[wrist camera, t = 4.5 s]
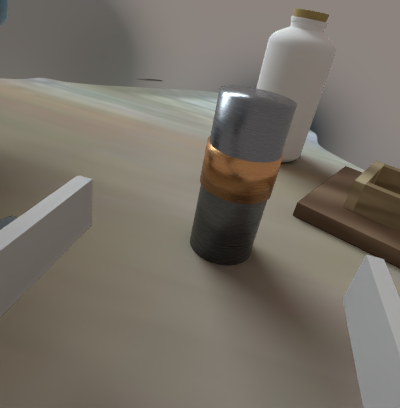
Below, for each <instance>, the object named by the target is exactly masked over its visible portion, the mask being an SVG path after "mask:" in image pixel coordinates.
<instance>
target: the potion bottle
mask: <svg viewBox="0 0 400 408" xmlns="http://www.w3.org/2000/svg"><path fill="white" fill-rule="evenodd" d="M328 17H329V15H328V14H325V13H320V12H315V11H310V10H304V9H298V8H295V12H294V16H292V17H291V26H290V27H287V28H284V29H281V30H278V31H276V32H274V33H273V34H272V35H271V36H270V38H269V40H268V44H267V48H266V52H265V56H264V60H263V65H262V68H261V73H260V77H259V81H258V85H257V89H261V90H265V91H269V92H273V93H276V94H279V95H282V96H285V97H287V98H289V99H291V100H293V101H294V102H296V104H297V107H296V110H295V113H294V116H293V120H292V123H291V126H290V129H289V132H288V135H287V139H286V142H285V145H284V148H283V151H282V154H283V159H282V162H290V161H293V160H295V159H297V158H299V157H300V155H301V152H302V149H303V146H304V143H305V140H306V137H307V134H308V132H309V129H310V126H311V123H312V120H313V117H314V114H315V111H316V108H317V106H318V103H319V100H320V97H321V94H322V91H323V88H324V85H325V82H326V79H327V77H328V74H329V71H330V68H331V65H332V62H333V59H334V56H335V52H336V49H335V46H334V44H333V43H332V41H331V40H330V39H329V38H328V37H327V36H326V35H325V34H323V32H324V29H325V28H326V26H327V23H326V21H327V19H328Z"/></svg>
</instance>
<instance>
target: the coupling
mask: <svg viewBox="0 0 400 408" xmlns="http://www.w3.org/2000/svg"><path fill="white" fill-rule="evenodd" d="M296 107H297V104H296V102H294V101H293V100H291V99H289V98H287V97H285V96H282V95H279V94H276V93H273V92H269V91H265V90H261V89H257V88H251V87H245V86H234V85H228V86H222V87H221V88H220V91H219V96H218V101H217V106H216V111H215V116H214V121H213V126H212V131H211V136H210V137H209V138H208V140H207V145H206V150H205V156H204V161H203V166H202V171H201V176H200V183H201V187H200V192H199V197H198V202H197V207H196V212H195V217H194V222H193V227H192V232H191V237H190V244H191V247H192V248H193V250H194V251H195V252H196V253H197V254H198V255H199V256H200V257H202V258H204V259H205V260H207V261H210V262H212V263H216V264H221V265H236V264H239V263H242V262H244V261H245V260H247V259H248V257H249V255H250V252H251V249H252V246H253V243H254V240H255V237H256V233H257V230H258V227H259V224H260V221H261V218H262V214H263V211H264V208H265V205H266V202H267V200H268V199H269V198H270V196H271V193H272V190H273V187H274V184H275V181H276V177H277V174H278V171H279V168H280V165H281V162H282V159H283V154H282V151H283V148H284V145H285V142H286V139H287V135H288V132H289V129H290V126H291V123H292V120H293V116H294V113H295V110H296Z"/></svg>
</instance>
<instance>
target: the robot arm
mask: <svg viewBox="0 0 400 408" xmlns="http://www.w3.org/2000/svg"><path fill="white" fill-rule="evenodd" d="M7 16H8V0H0V26H1V25H2V24H3V23H4V22H5V21H6V19H7ZM91 226H92V179H90V178H86V177H83V176H79V175H78V176H76V177H75V178H73V179H72V180H70V181H69V182H68V183H66V184H65V185H63V186H62V187H61V188H59V189H58V190H56V191H55V192H53V193H52V194H51V195H49V196H48V197H46V198H45V199H44V200H42V201H41V202H39V203H38V204H36V205H35V206H34V207H32V208H31V209H29V210H28V211H27V212H25V213H24V214H22V215H21V216H19V217H14V216H9V217H7V218H4V219H1V220H0V318H1V317H2V316H3V315H4V314H5V313H6V312H7V311H8V310H9V308H10V307H11V306H12V305H13V304H14V303H15V302H16V301H17V300H18V299H19V298H20V297H21V296H22V295H23V294H24V293H25V292H26V291H27V290H28V289H29V288H30V287H31V286H32V285H33V284H34V283H35V282H36V281H37V280H38V279H39V278H40V277H41V276H42V275H43V274H44V273H45V272H46V271H47V270H48V269H49V268H50V267H51V266H52V265H53V264H54V263H55V262H56V261H57V260H58V259H59V258H60V257H61V256H62V255H63V254H64V253H65V252H66V251H67V250H68V249H69V248H70V247H71V246H72V245H73V244H74V243H75V242H76V241H77V240H78V239H79V238H80V237H81V236H82V235H83V234H84V233H85V232H86V231H87V230H88V229H89V228H90V227H91ZM343 304H344V309H345V315H346V320H347V325H348V330H349V335H350V341H351V346H352V351H353V356H354V361H355V367H356V372H357V377H358V382H359V387H360V393H361V398H362V403H363V408H400V298H399V295H398V293H397V290H396V288H395V285H394V283H393V280H392V278H391V275H390V273H389V270H388V268H387V265H386V263H385V260H384V259H381V258H378V257H374V256H370V255H367V254H366V256H365V258H364V260H363V261H362V263H361V265H360V267H359V269H358V271H357V273H356V275H355V276H354V278H353V280H352V282H351V284H350V286H349V288H348V289H347V291H346V293H345V295H344V297H343Z"/></svg>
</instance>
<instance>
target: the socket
mask: <svg viewBox="0 0 400 408" xmlns="http://www.w3.org/2000/svg"><path fill="white" fill-rule="evenodd" d="M293 215H294V216H296V217H298V218H300V219H302V220H304V221H306V222H308V223H310V224H312V225H314V226H316V227H318V228H320V229H322V230H324V231H326V232H328V233H330V234H332V235H334V236H336V237H338V238H340V239H342V240H344V241H346V242H348V243H350V244H353V245H355V246H357V247H359V248H361V249H363V250H365V251H367V252H369V253H371V254H373V255H375V256H377V257H379V258H381V259H384V260H385V261H387V262H389V263H391V264H393V265H395V266H397V267H399V268H400V169H397V168H395V167H392V166H389V165H386V164H383V163H381V162H378V161H376V162H374V163H373V164H372V165H371V166H370V167H369V168H368V169H367V170H366V171H364V172H363V173H362V172H359V171H357V170H354V169H352V168H349V167H346V166H345V167H344V168H343V169H341V170H340V171H339V172H337V173H336V174H335V175H333V176H332V177H331V178H329V179H328V180H327V181H325V182H324V183H323V184H321V185H320V186H319V187H317V188H316V189H315V190H313V191H312V192H311V193H309V194H308V195H307V196H305V197H304V198H303V199H301V200H300V201H299V202H297V205H296V208H295V210H294V213H293Z"/></svg>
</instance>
